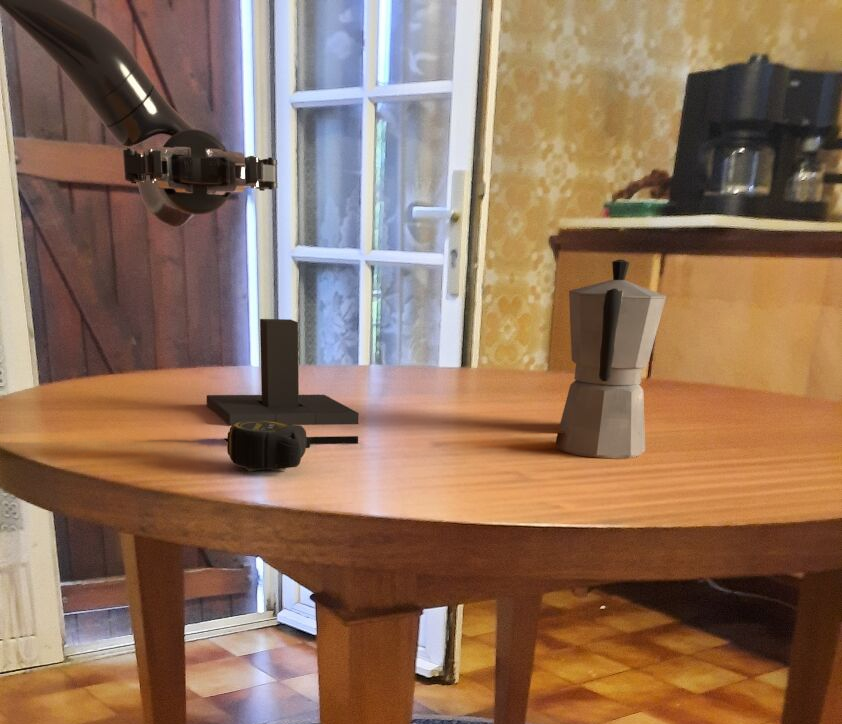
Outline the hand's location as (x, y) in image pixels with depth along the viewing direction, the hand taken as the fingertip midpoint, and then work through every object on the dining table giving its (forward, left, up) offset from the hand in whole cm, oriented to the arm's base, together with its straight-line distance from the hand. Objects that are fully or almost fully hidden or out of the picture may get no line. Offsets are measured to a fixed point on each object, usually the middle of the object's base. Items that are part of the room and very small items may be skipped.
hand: (206, 167), depth 96 cm
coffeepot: (+37, -11, -24) cm, 46 cm away
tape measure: (+2, -15, -24) cm, 29 cm away
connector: (+7, +3, -24) cm, 25 cm away
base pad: (+7, +3, -24) cm, 25 cm away
